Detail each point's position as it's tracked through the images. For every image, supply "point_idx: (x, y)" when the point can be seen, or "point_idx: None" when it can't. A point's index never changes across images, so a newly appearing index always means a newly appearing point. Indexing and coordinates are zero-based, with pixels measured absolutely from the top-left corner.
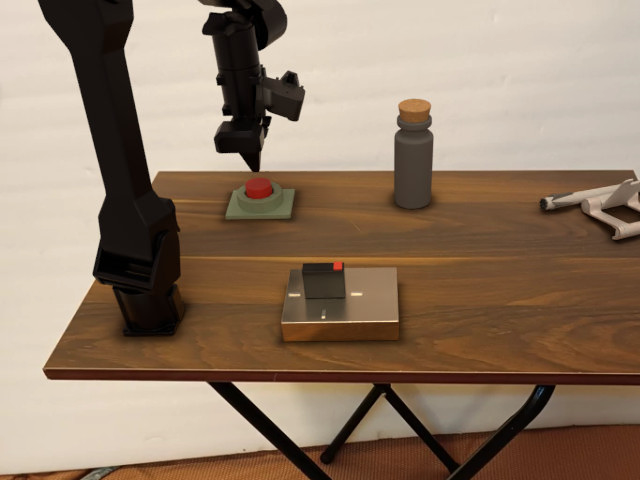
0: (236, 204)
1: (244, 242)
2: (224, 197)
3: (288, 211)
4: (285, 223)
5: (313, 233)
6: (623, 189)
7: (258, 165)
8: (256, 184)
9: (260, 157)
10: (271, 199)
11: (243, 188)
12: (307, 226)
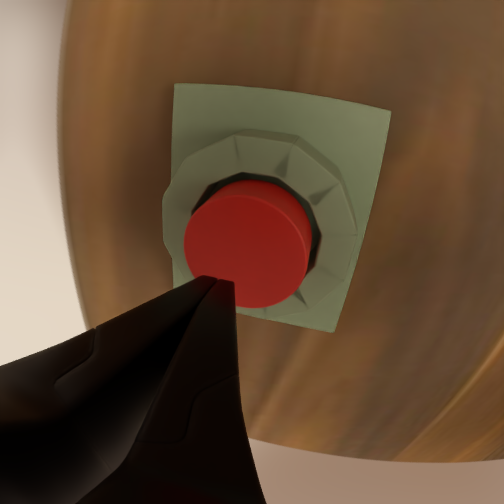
0: None
1: (477, 282)
2: None
3: (365, 113)
4: (417, 135)
5: (497, 53)
6: None
7: (234, 311)
8: (250, 264)
9: (172, 311)
10: (339, 190)
11: None
12: (453, 58)
